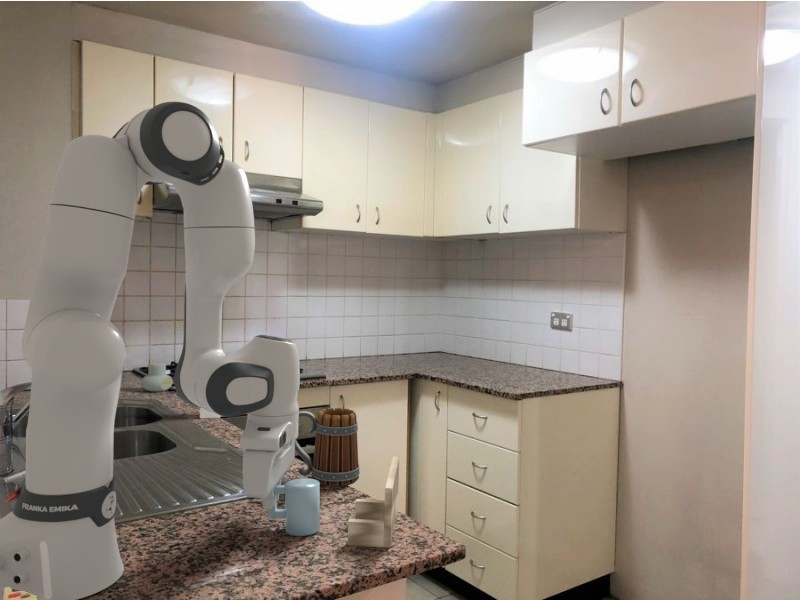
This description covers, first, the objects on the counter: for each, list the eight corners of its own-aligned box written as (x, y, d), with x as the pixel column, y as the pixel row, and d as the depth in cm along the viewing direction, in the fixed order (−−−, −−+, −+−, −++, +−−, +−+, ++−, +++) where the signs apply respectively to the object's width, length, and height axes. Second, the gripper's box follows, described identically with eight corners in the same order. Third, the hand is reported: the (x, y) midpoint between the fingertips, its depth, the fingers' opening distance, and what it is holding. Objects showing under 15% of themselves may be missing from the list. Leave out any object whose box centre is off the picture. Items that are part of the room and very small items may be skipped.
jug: (264, 534, 105) (263, 489, 105) (273, 521, 111) (273, 477, 111) (316, 536, 105) (315, 490, 104) (322, 522, 111) (322, 478, 110)
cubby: (347, 545, 102) (349, 486, 102) (361, 504, 120) (362, 454, 120) (390, 547, 102) (392, 488, 101) (397, 506, 120) (399, 456, 119)
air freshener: (157, 394, 218) (157, 366, 217) (137, 392, 220) (137, 364, 219) (175, 388, 228) (176, 362, 228) (156, 387, 230) (156, 360, 230)
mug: (360, 472, 140) (362, 407, 139) (358, 488, 129) (360, 418, 129) (291, 470, 139) (293, 405, 139) (284, 486, 129) (286, 416, 128)
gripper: (271, 413, 118) (269, 483, 119) (236, 441, 98) (234, 526, 98) (303, 414, 118) (301, 485, 118) (275, 443, 97) (273, 529, 98)
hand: (270, 504), depth 108 cm, fingers closed on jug
